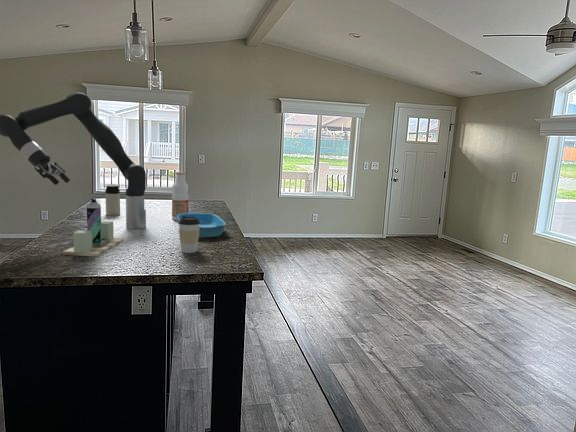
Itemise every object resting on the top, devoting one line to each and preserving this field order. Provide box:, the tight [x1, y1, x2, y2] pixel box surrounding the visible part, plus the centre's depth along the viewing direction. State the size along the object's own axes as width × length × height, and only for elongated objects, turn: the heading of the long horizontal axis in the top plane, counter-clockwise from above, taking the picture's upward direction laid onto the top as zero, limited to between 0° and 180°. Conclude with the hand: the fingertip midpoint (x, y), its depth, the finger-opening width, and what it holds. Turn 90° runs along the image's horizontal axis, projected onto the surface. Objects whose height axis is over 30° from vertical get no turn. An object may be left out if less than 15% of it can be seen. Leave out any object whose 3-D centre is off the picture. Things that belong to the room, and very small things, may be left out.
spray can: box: [86, 198, 102, 243], centre depth 182 cm, size 6×6×20 cm
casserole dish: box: [177, 212, 227, 239], centre depth 224 cm, size 37×22×7 cm, turn 22°
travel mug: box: [104, 183, 121, 217], centre depth 255 cm, size 8×8×18 cm
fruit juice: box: [171, 171, 189, 222], centre depth 250 cm, size 9×9×28 cm
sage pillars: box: [72, 220, 114, 253], centre depth 183 cm, size 25×5×8 cm, turn 178°
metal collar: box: [92, 238, 109, 248], centre depth 184 cm, size 9×9×2 cm
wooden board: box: [62, 237, 125, 258], centre depth 184 cm, size 26×14×1 cm, turn 178°
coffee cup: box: [178, 216, 200, 254], centre depth 185 cm, size 9×9×15 cm
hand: (63, 182), depth 184 cm, fingers open, 8 cm apart
